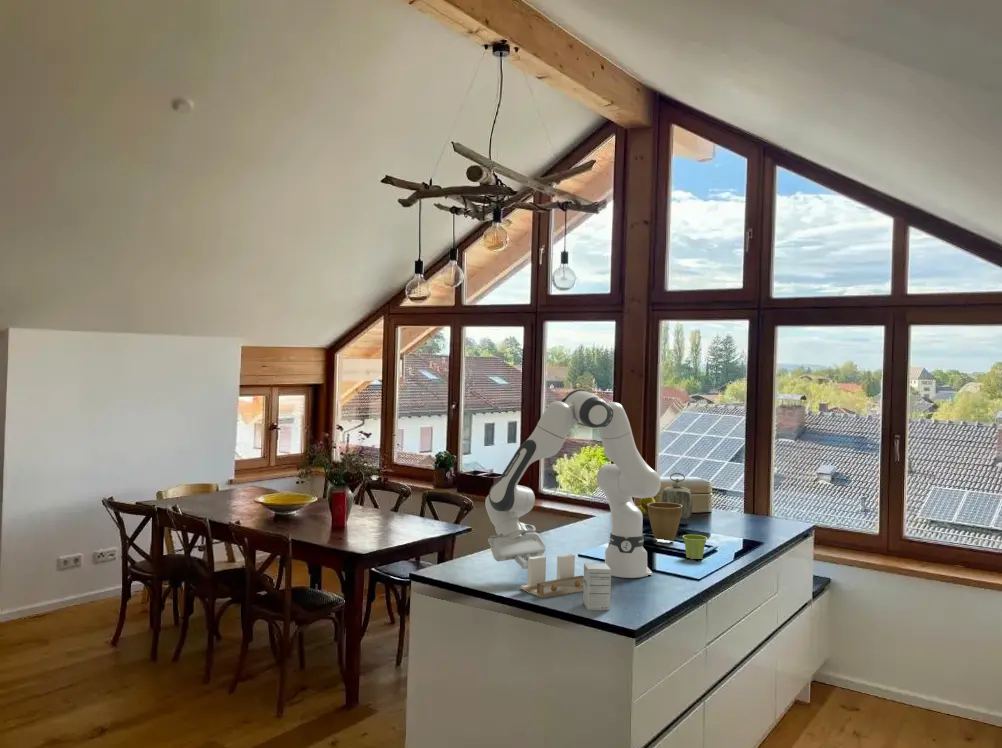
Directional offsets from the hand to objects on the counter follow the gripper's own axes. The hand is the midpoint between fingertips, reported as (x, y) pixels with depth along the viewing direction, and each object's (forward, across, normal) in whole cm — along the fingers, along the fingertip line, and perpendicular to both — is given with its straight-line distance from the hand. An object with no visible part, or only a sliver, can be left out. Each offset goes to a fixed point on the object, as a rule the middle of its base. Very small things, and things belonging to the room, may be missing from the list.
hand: (527, 567), depth 265 cm
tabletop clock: (-33, +132, +41) cm, 142 cm away
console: (+10, +5, -1) cm, 11 cm away
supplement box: (+25, +4, -16) cm, 30 cm away
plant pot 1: (-15, +96, +24) cm, 100 cm away
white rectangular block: (+7, 0, 0) cm, 7 cm away
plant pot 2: (+5, +82, +3) cm, 82 cm away
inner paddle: (+9, +10, -2) cm, 14 cm away
